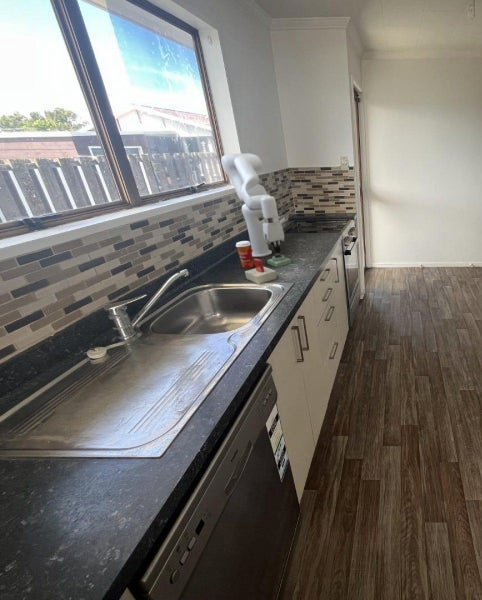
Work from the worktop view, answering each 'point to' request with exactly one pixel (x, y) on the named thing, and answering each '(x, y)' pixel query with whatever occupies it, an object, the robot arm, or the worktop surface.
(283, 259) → the switch block
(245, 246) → the paper cup
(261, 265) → the tap handle
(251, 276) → the block
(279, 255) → the button
